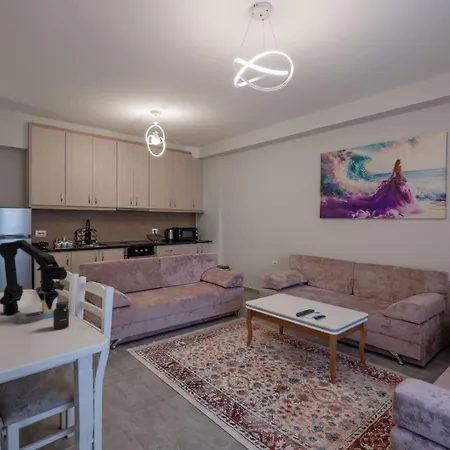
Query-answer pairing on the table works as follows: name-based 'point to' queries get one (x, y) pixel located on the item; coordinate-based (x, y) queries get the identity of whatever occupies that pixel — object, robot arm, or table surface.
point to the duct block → (33, 317)
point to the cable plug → (45, 308)
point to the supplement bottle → (61, 316)
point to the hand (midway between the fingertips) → (47, 307)
